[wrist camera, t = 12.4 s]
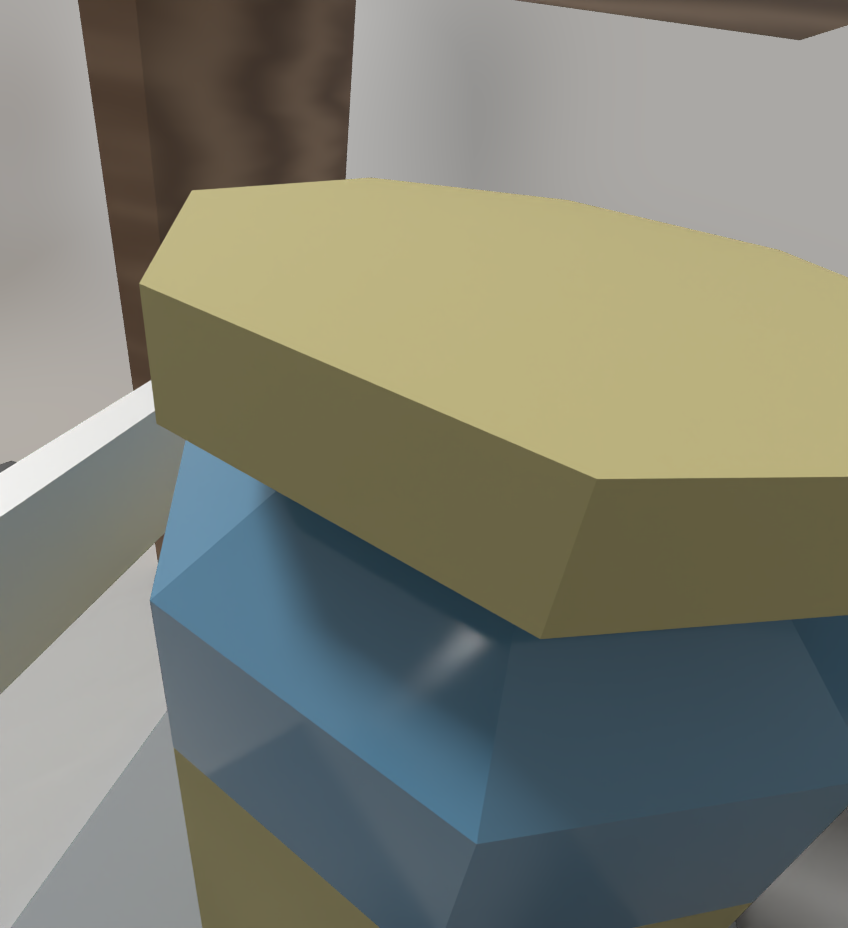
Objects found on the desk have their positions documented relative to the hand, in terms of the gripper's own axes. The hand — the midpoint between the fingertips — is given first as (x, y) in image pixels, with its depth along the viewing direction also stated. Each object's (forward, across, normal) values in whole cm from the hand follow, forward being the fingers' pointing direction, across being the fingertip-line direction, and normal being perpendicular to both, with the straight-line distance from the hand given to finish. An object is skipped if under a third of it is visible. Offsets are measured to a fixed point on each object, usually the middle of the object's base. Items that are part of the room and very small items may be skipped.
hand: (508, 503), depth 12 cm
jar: (-3, 0, -10) cm, 10 cm away
